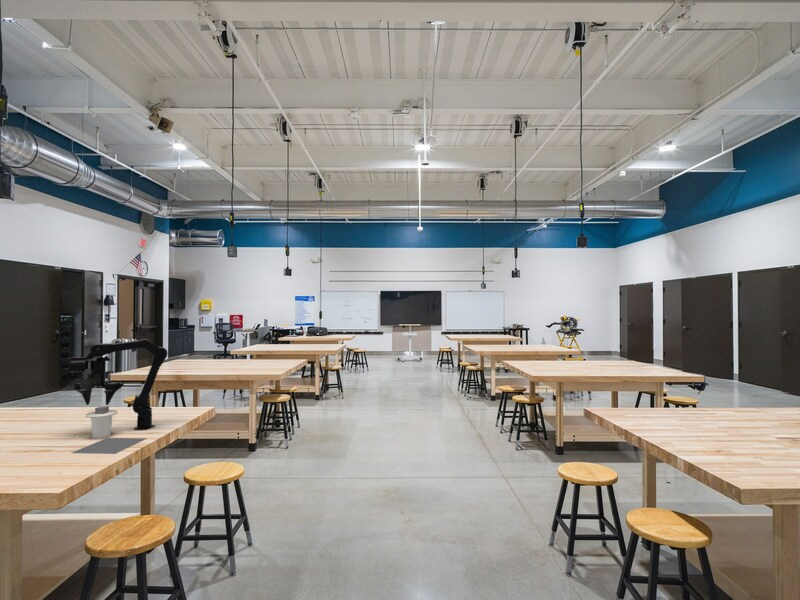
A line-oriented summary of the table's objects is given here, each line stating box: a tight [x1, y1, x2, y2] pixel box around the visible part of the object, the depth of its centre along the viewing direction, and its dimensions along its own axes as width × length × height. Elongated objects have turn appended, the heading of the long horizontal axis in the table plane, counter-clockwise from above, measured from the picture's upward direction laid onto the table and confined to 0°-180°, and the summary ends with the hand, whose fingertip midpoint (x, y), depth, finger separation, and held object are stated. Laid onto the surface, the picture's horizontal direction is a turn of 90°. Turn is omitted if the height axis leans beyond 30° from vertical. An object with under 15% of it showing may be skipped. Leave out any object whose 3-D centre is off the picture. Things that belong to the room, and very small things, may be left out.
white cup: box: [90, 415, 113, 439], centre depth 190 cm, size 8×8×10 cm
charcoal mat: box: [71, 437, 148, 455], centre depth 177 cm, size 20×18×1 cm
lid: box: [84, 405, 119, 419], centre depth 190 cm, size 12×12×3 cm
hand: (97, 404), depth 196 cm, fingers open, 9 cm apart
